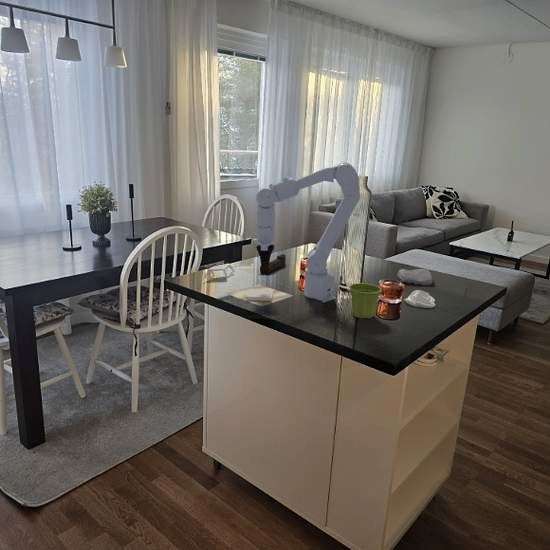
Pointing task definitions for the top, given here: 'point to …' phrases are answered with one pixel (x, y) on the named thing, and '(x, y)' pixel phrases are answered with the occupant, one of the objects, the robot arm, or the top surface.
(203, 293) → the top surface
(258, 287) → the board
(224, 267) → the origami figure
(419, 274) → the stone block
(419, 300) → the white rock
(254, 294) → the tile
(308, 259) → the robot arm
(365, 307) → the plant pot
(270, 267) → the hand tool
